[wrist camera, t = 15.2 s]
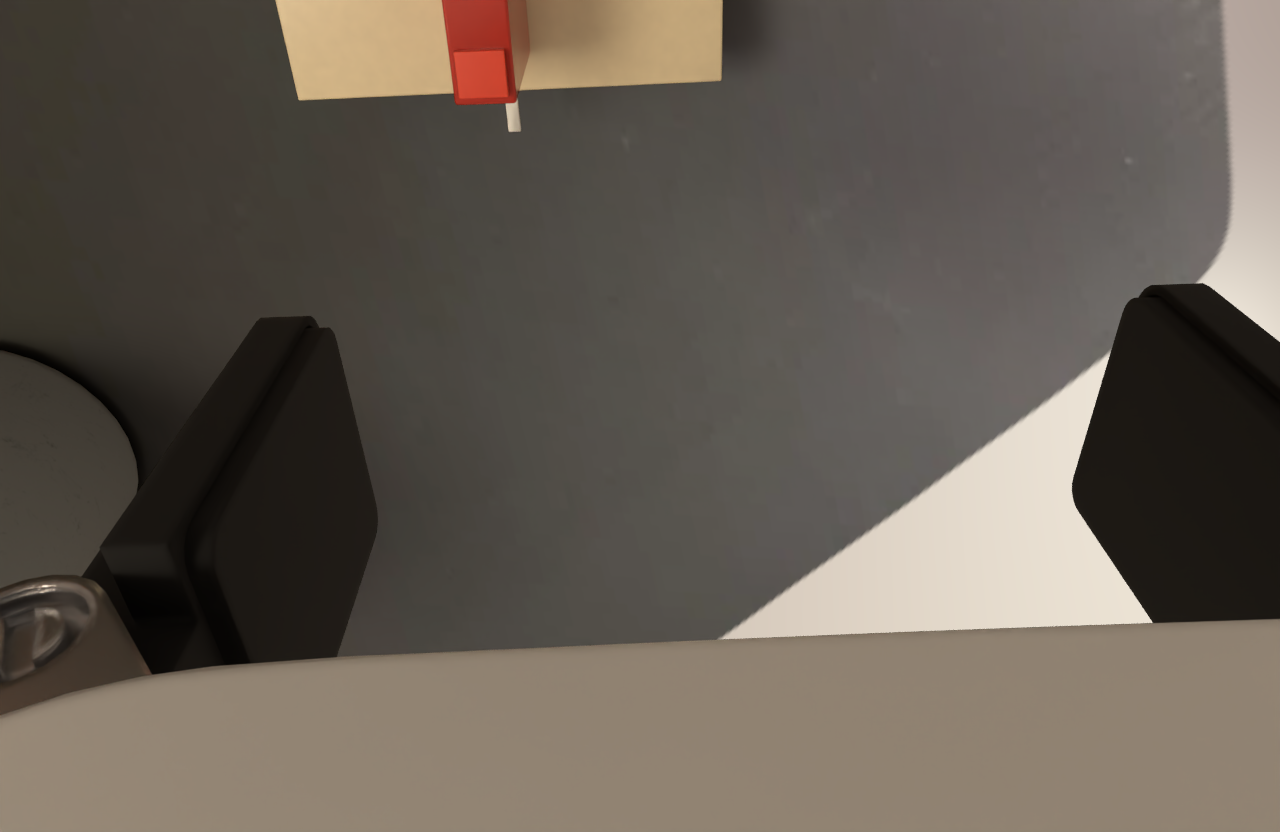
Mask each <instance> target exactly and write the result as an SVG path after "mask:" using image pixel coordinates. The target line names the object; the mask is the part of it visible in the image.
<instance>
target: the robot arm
mask: <svg viewBox="0 0 1280 832" xmlns="http://www.w3.org/2000/svg"><path fill="white" fill-rule="evenodd" d="M1072 494H1073V499H1074V503H1075V506H1076V508H1077V510H1078V511H1079V513H1080V514H1081V516H1082V517H1083V519H1084V520H1085V522H1086V523H1087V525H1088V526H1089V528H1090V529H1091V531H1092V532H1093V534H1094V535H1095V537H1096V538H1097V540H1098V541H1099V543H1100V544H1101V546H1102V547H1103V549H1104V550H1105V552H1106V553H1107V555H1108V556H1109V558H1110V559H1111V561H1112V562H1113V564H1114V565H1115V567H1116V568H1117V570H1118V571H1119V573H1120V574H1121V575H1122V577H1123V579H1124V580H1125V582H1126V583H1127V585H1128V586H1129V587H1130V589H1131V590H1132V592H1133V593H1134V595H1135V596H1136V598H1137V599H1138V601H1139V602H1140V604H1141V605H1142V607H1143V608H1144V610H1145V611H1146V613H1147V614H1148V616H1149V617H1150V619H1151V620H1152V622H1153V623H1143V624H1114V625H1084V626H1058V627H1057V626H1055V627H1030V628H1029V627H1027V628H1000V629H974V630H948V631H947V630H946V631H919V632H894V633H868V634H846V635H822V636H798V637H797V636H796V637H772V638H749V639H724V640H700V641H677V642H654V643H631V644H609V645H588V646H566V647H545V648H524V649H503V650H481V651H459V652H436V653H414V654H391V655H369V656H347V657H337V654H338V651H339V648H340V645H341V642H342V639H343V636H344V633H345V630H346V626H347V623H348V620H349V617H350V614H351V611H352V608H353V605H354V602H355V599H356V596H357V593H358V590H359V586H360V583H361V580H362V577H363V574H364V571H365V568H366V565H367V562H368V559H369V556H370V553H371V550H372V546H373V543H374V540H375V537H376V533H377V525H378V515H377V507H376V502H375V498H374V493H373V489H372V485H371V481H370V477H369V473H368V469H367V465H366V460H365V456H364V452H363V448H362V444H361V440H360V436H359V431H358V427H357V423H356V419H355V415H354V411H353V407H352V403H351V398H350V394H349V390H348V386H347V382H346V378H345V374H344V369H343V365H342V361H341V357H340V353H339V349H338V345H337V341H336V338H335V335H334V333H333V331H332V330H331V329H330V328H319V326H318V324H317V322H316V321H315V319H314V318H313V317H311V316H298V317H271V318H260V319H259V320H258V321H257V322H256V323H255V325H254V326H253V327H252V329H251V330H250V332H249V333H248V335H247V336H246V338H245V339H244V340H243V342H242V343H241V345H240V346H239V348H238V349H237V350H236V352H235V353H234V355H233V356H232V358H231V359H230V360H229V362H228V363H227V365H226V366H225V368H224V369H223V371H222V372H221V373H220V375H219V376H218V378H217V379H216V381H215V382H214V383H213V385H212V386H211V388H210V389H209V391H208V392H207V393H206V395H205V396H204V398H203V399H202V401H201V402H200V404H199V405H198V406H197V408H196V409H195V411H194V412H193V414H192V415H191V416H190V418H189V419H188V421H187V422H186V424H185V425H184V427H183V428H182V429H181V431H180V432H179V434H178V435H177V437H176V438H175V439H174V441H173V442H172V444H171V445H170V447H169V448H168V449H167V451H166V452H165V454H164V455H163V457H162V458H161V460H160V461H159V462H158V464H157V465H156V467H155V468H154V470H153V471H152V472H151V474H150V475H149V477H148V478H147V480H146V481H145V482H144V484H143V485H142V487H141V488H140V490H139V491H138V493H137V494H136V495H135V497H134V498H133V500H132V501H131V503H130V504H129V505H128V507H127V508H126V510H125V511H124V513H123V514H122V515H121V517H120V518H119V520H118V521H117V523H116V524H115V526H114V527H113V528H112V530H111V531H110V533H109V534H108V536H107V537H106V538H105V540H104V541H103V543H102V544H101V546H100V547H99V548H100V551H99V552H98V553H97V555H96V556H95V558H94V559H93V561H92V562H91V564H90V565H89V566H88V568H87V569H86V571H85V572H84V574H83V575H82V577H80V576H77V575H47V576H42V577H36V578H30V579H25V580H22V581H19V582H16V583H13V584H11V585H8V586H5V587H2V588H0V832H1280V342H1279V341H1278V340H1276V339H1275V338H1274V337H1273V336H1271V335H1270V334H1269V333H1267V332H1266V331H1265V330H1264V329H1262V328H1261V327H1260V326H1259V325H1257V324H1256V323H1255V322H1254V321H1252V320H1251V319H1250V318H1248V317H1247V316H1246V315H1245V314H1243V313H1242V312H1241V311H1240V310H1238V309H1237V308H1236V307H1234V306H1233V305H1232V304H1231V303H1230V302H1228V301H1227V300H1226V299H1225V298H1223V297H1222V296H1221V295H1219V294H1218V293H1217V292H1216V291H1214V290H1213V289H1212V288H1210V287H1209V286H1207V285H1205V284H1203V283H1199V284H1172V285H1151V286H1149V287H1147V288H1146V289H1144V291H1143V292H1142V293H1141V295H1140V296H1139V298H1133V299H1131V300H1130V301H1129V302H1128V303H1127V305H1126V306H1125V308H1124V311H1123V313H1122V317H1121V320H1120V323H1119V327H1118V330H1117V333H1116V337H1115V340H1114V343H1113V347H1112V350H1111V353H1110V357H1109V360H1108V364H1107V367H1106V370H1105V374H1104V377H1103V380H1102V384H1101V387H1100V390H1099V394H1098V397H1097V400H1096V404H1095V407H1094V410H1093V414H1092V417H1091V420H1090V424H1089V427H1088V431H1087V434H1086V437H1085V441H1084V444H1083V447H1082V451H1081V454H1080V457H1079V461H1078V464H1077V467H1076V471H1075V474H1074V477H1073V483H1072Z"/></svg>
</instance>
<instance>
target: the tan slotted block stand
mask: <svg viewBox="0 0 1280 832" xmlns="http://www.w3.org/2000/svg"><path fill="white" fill-rule="evenodd" d="M526 4H527V16H528V28H529V40H530V55H529V58H528V62H527V65H526V69H525V72H524V76H523V80H522V83H521V87H520V90H537V89H558V88H580V87H602V86H623V85H645V84H666V83H688V82H710V81H721V79H722V23H723V0H526ZM276 5H277V9H278V13H279V17H280V22H281V26H282V30H283V35H284V39H285V43H286V48H287V52H288V56H289V60H290V65H291V69H292V73H293V78H294V82H295V86H296V91H297V95H298V99H299V100H321V99H343V98H364V97H386V96H407V95H429V94H451V93H454V92H453V84H452V76H451V69H450V61H449V53H448V46H447V38H446V30H445V23H444V15H443V7H442V0H276ZM505 104H506V113H507V122H508V131H509V132H520V131H521V122H520V112H519V103H518V97H517V101H516V102H515V103H505Z"/></svg>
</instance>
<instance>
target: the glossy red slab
mask: <svg viewBox="0 0 1280 832" xmlns="http://www.w3.org/2000/svg"><path fill="white" fill-rule="evenodd" d="M442 7H443V15H444V23H445V30H446V38H447V46H448V53H449V61H450V69H451V76H452V84H453V92H454V99H455V103H456V104H457V105H476V104H505V103H515V102H516V101H517V97H518V94H519V90H520V87H521V83H522V80H523V76H524V72H525V69H526V65H527V62H528V58H529V55H530V40H529V28H528V16H527V4H526V0H442Z"/></svg>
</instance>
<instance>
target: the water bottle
mask: <svg viewBox="0 0 1280 832" xmlns="http://www.w3.org/2000/svg"><path fill="white" fill-rule="evenodd" d="M137 487H138V472H137V463H136V459H135V456H134V453H133V450H132V448H131V445H130V442H129V440H128V437H127V436H126V434H125V433H124V431H123V429H122V428H121V426H120V424H119V423H118V421H117V420H116V418H115V417H114V416H113V415H112V414H111V413H110V412H109V410H108V409H107V408H106V407H105V406H104V405H103V404H102V403H101V401H99V400H98V399H97V398H96V397H95V396H93V395H92V394H91V393H90V392H89V391H87V390H86V389H85V388H84V387H83V386H81V385H80V384H78V383H77V382H75V381H74V380H72V379H70V378H69V377H67V376H66V375H64V374H62V373H61V372H59V371H58V370H55V369H53V368H51V367H49V366H46V365H44V364H42V363H40V362H37V361H35V360H33V359H30V358H27V357H23V356H20V355H17V354H13V353H10V352H6V351H1V350H0V588H2V587H5V586H8V585H11V584H13V583H16V582H19V581H22V580H25V579H30V578H36V577H42V576H47V575H77V576H80V577H82V575H83V574H84V572H85V571H86V569H87V568H88V566H89V565H90V564H91V562H92V561H93V559H94V558H95V556H96V555H97V553H98V552H99V551H100V548H99V547H100V546H101V544H102V543H103V541H104V540H105V538H106V537H107V536H108V534H109V533H110V531H111V530H112V528H113V527H114V526H115V524H116V523H117V521H118V520H119V518H120V517H121V515H122V514H123V513H124V511H125V510H126V508H127V507H128V505H129V504H130V503H131V501H132V500H133V498H134V497H135V495H136V493H137Z"/></svg>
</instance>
